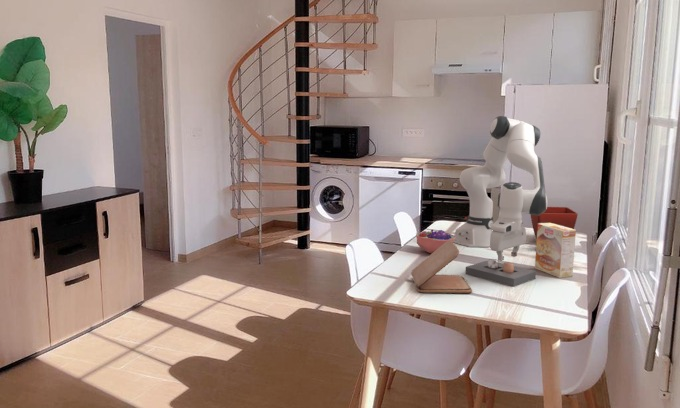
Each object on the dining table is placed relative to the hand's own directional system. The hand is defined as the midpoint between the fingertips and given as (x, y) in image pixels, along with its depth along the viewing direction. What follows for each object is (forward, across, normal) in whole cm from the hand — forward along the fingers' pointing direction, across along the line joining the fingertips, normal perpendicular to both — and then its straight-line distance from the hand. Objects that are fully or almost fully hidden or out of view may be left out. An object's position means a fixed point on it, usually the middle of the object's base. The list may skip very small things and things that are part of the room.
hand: (507, 258), depth 220 cm
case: (+8, +28, -11) cm, 31 cm away
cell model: (+9, -10, -45) cm, 47 cm away
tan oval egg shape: (+8, 0, +1) cm, 8 cm away
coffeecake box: (+8, -22, +8) cm, 25 cm away
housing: (+8, 0, -3) cm, 9 cm away
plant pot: (+9, -73, -20) cm, 76 cm away
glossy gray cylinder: (+8, 0, -6) cm, 10 cm away
